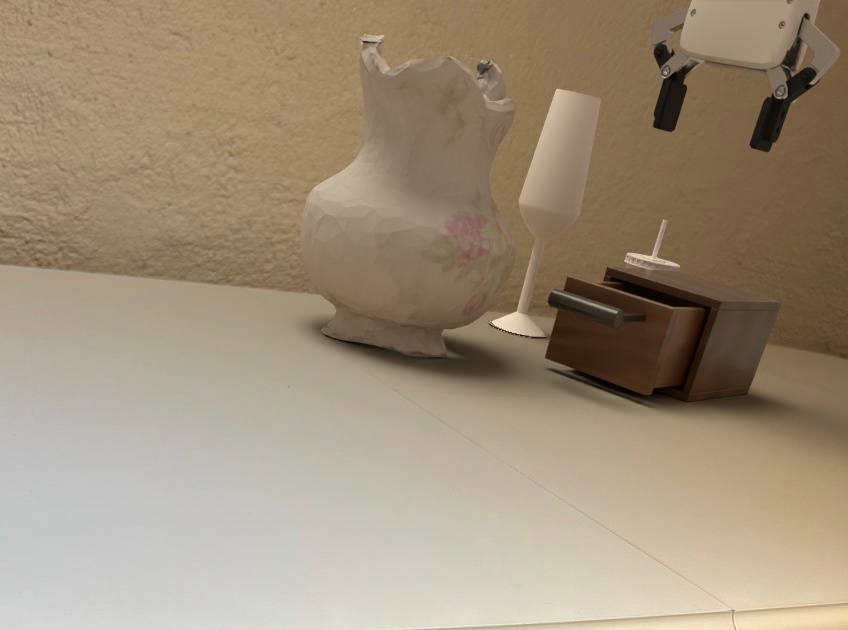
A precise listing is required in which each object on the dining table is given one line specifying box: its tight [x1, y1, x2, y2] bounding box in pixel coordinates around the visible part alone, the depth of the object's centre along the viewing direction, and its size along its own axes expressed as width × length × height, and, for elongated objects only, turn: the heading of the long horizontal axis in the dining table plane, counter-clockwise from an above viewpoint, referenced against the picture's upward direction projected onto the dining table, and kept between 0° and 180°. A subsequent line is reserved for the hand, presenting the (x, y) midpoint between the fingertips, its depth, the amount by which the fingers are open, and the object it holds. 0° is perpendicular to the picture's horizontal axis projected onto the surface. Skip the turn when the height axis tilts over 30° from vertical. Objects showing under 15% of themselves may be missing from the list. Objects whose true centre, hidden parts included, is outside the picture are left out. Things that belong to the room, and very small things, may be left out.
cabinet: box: [602, 266, 783, 403], centre depth 107 cm, size 15×13×10 cm
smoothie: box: [623, 219, 681, 272], centre depth 122 cm, size 6×6×14 cm
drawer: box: [544, 275, 711, 396], centre depth 99 cm, size 19×11×8 cm, turn 137°
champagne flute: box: [491, 88, 602, 336], centre depth 112 cm, size 7×7×24 cm
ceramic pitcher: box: [299, 34, 517, 358], centre depth 94 cm, size 22×20×25 cm
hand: (709, 139), depth 94 cm, fingers open, 9 cm apart
